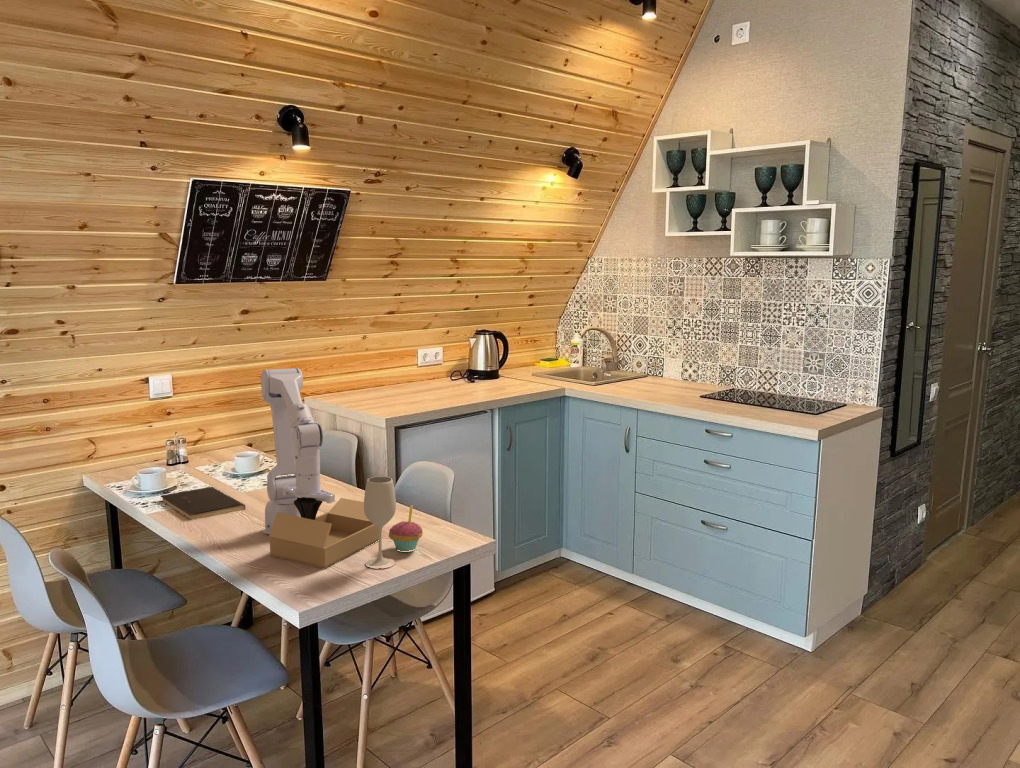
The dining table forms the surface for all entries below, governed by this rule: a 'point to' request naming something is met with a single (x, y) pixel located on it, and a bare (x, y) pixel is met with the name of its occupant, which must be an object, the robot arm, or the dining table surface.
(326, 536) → the flap
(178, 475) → the dining table surface
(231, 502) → the hardcover book
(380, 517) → the wineglass
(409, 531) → the cupcake
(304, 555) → the carton
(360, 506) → the flap
